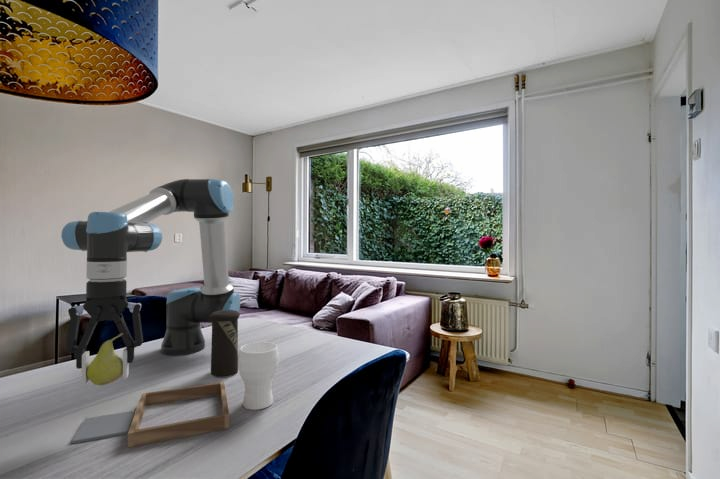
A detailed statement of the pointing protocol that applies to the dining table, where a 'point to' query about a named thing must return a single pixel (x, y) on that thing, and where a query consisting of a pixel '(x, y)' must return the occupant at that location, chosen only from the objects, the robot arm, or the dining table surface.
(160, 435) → the walnut frame
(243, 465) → the dining table surface
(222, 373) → the container
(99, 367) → the fruit
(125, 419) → the slate coaster
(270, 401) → the cup
